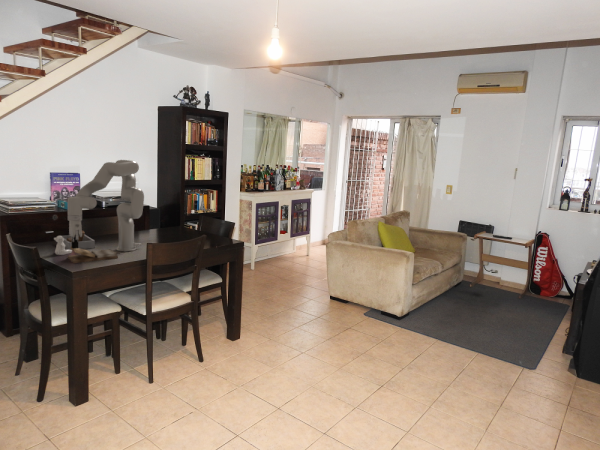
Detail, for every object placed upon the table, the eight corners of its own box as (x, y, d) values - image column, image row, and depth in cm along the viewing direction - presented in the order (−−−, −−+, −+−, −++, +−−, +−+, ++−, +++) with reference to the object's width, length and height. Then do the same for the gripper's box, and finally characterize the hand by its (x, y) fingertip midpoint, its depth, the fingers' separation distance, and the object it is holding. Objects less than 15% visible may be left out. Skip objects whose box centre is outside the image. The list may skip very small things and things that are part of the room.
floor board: (110, 253, 277) (110, 248, 277) (117, 258, 267) (117, 253, 267) (67, 258, 261) (67, 253, 260) (73, 263, 251) (73, 258, 250)
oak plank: (88, 253, 268) (89, 250, 268) (94, 257, 259) (95, 255, 259) (70, 248, 260) (71, 246, 260) (75, 252, 251) (76, 250, 252)
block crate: (84, 241, 307) (84, 234, 307) (94, 247, 290) (94, 240, 289) (59, 243, 297) (59, 236, 296) (68, 250, 279) (68, 242, 278)
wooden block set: (68, 251, 285) (72, 238, 282) (60, 244, 288) (64, 231, 285) (92, 247, 301) (96, 235, 298) (84, 241, 304) (88, 229, 301)
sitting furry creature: (72, 252, 274) (72, 234, 272) (65, 256, 265) (65, 237, 263) (57, 252, 273) (56, 233, 271) (50, 255, 265) (49, 236, 263)
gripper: (85, 219, 251) (85, 250, 253) (78, 215, 262) (78, 245, 264) (71, 219, 246) (71, 251, 248) (64, 216, 257) (64, 246, 259)
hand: (75, 248), depth 256 cm, fingers closed
